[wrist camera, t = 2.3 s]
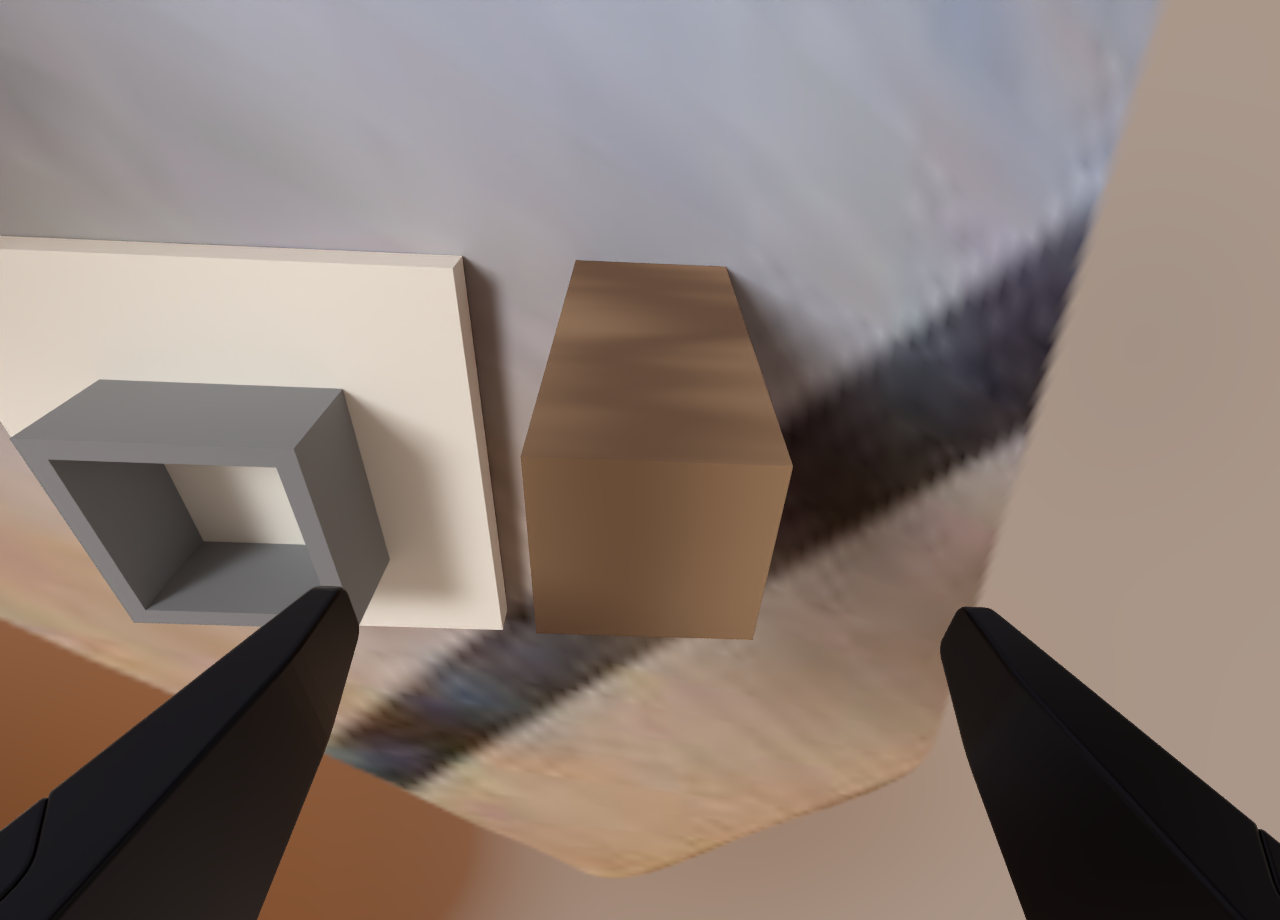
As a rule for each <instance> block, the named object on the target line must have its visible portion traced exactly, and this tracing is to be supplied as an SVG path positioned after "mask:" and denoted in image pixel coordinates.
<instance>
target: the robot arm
mask: <svg viewBox="0 0 1280 920" xmlns="http://www.w3.org/2000/svg"><path fill="white" fill-rule="evenodd" d="M358 636H359V623H358V620H357V617H356V614H355V611H354V608H353V605H352V603H351V600H350V597H349V594H348V592H347V590H346V589H345V588H343V587H340V586H316V587H313V588H311V589H310V590H308V591H307V592H306V593H304V594H303V595H302V596H300V597H299V598H298V599H297V600H295V601H294V602H293V603H292V604H290V605H289V606H288V607H286V608H285V609H284V610H283V611H281V612H280V613H279V614H277V615H276V616H275V617H274V618H272V619H271V620H270V621H268V622H267V623H266V624H265V625H263V626H262V627H261V628H260V629H258V630H257V631H256V632H254V633H253V634H252V635H251V636H249V637H248V638H247V639H245V640H244V641H243V642H242V643H240V644H239V645H238V646H237V647H235V648H234V649H233V650H231V651H230V652H229V653H228V654H226V655H225V656H224V657H222V658H221V659H220V660H219V661H217V662H216V663H215V664H213V665H212V666H211V667H210V668H208V669H207V670H206V671H205V672H203V673H202V674H201V675H199V676H198V677H197V678H196V679H194V680H193V681H192V682H190V683H189V684H188V685H187V686H185V687H184V688H183V689H182V690H180V691H179V692H178V693H176V694H175V695H174V696H173V697H171V698H170V699H169V700H168V701H166V702H165V703H164V704H162V705H161V706H160V707H158V709H156V710H155V711H153V712H152V713H151V714H150V715H148V716H147V717H146V718H144V719H143V720H142V721H141V722H139V723H138V724H137V725H136V726H134V727H133V728H132V729H130V730H129V731H128V732H127V733H125V734H124V735H123V736H121V737H120V738H119V739H118V740H116V741H115V742H114V743H112V744H111V745H110V746H109V747H107V748H106V749H105V750H104V751H102V752H101V753H100V754H98V755H97V756H96V757H95V758H93V759H92V760H91V761H89V762H88V763H87V764H86V765H84V766H83V767H82V768H80V769H79V770H78V771H77V772H75V773H74V774H73V775H72V776H70V777H69V778H68V779H66V780H65V781H64V782H63V783H61V784H60V785H59V786H57V787H56V788H55V789H54V790H52V791H51V793H50V794H49V797H48V798H42V799H41V800H39V801H38V802H37V803H35V804H34V805H33V806H31V807H30V808H29V809H28V810H26V811H25V812H24V813H23V814H21V815H20V816H19V817H18V818H17V819H15V820H14V821H12V822H11V823H10V824H9V825H7V826H6V827H5V828H3V829H2V830H1V831H0V920H257V918H258V916H259V913H260V910H261V908H262V906H263V903H264V901H265V898H266V896H267V893H268V891H269V888H270V886H271V883H272V881H273V878H274V876H275V873H276V871H277V868H278V866H279V863H280V861H281V859H282V856H283V854H284V851H285V849H286V846H287V844H288V841H289V839H290V836H291V834H292V831H293V829H294V826H295V824H296V821H297V819H298V816H299V814H300V811H301V809H302V806H303V804H304V801H305V799H306V797H307V794H308V792H309V789H310V787H311V784H312V782H313V779H314V777H315V774H316V772H317V769H318V766H319V764H320V762H321V759H322V757H323V754H324V752H325V749H326V746H327V744H328V741H329V738H330V735H331V732H332V728H333V725H334V722H335V718H336V715H337V711H338V708H339V704H340V701H341V697H342V694H343V690H344V686H345V683H346V679H347V676H348V672H349V669H350V665H351V662H352V658H353V655H354V651H355V647H356V644H357V640H358ZM940 654H941V660H942V664H943V668H944V672H945V675H946V679H947V683H948V687H949V691H950V695H951V699H952V703H953V707H954V711H955V715H956V718H957V722H958V726H959V730H960V734H961V738H962V742H963V745H964V749H965V752H966V756H967V759H968V762H969V765H970V768H971V771H972V773H973V776H974V779H975V782H976V784H977V787H978V790H979V793H980V795H981V798H982V801H983V803H984V806H985V809H986V811H987V814H988V817H989V820H990V822H991V825H992V828H993V830H994V833H995V836H996V839H997V841H998V844H999V847H1000V849H1001V852H1002V855H1003V857H1004V860H1005V863H1006V866H1007V868H1008V871H1009V874H1010V877H1011V879H1012V882H1013V885H1014V887H1015V890H1016V893H1017V895H1018V898H1019V901H1020V904H1021V906H1022V909H1023V911H1024V914H1025V917H1026V920H1280V843H1279V842H1278V841H1277V840H1275V839H1274V838H1273V837H1272V836H1271V835H1269V834H1268V833H1267V832H1266V831H1264V830H1262V829H1258V828H1257V825H1256V824H1255V823H1254V822H1253V821H1252V820H1251V819H1249V818H1248V817H1247V816H1246V815H1244V814H1243V813H1242V812H1240V811H1239V810H1238V809H1237V808H1236V807H1234V806H1233V805H1232V804H1231V803H1230V802H1228V801H1227V800H1226V799H1225V798H1224V797H1222V796H1221V795H1220V794H1219V793H1217V792H1216V791H1215V790H1214V789H1212V788H1211V787H1210V786H1209V785H1208V784H1206V783H1205V782H1204V781H1203V780H1201V779H1200V778H1199V777H1198V776H1197V775H1195V774H1194V773H1193V772H1192V771H1190V770H1189V769H1188V768H1187V767H1185V766H1184V765H1183V764H1182V763H1181V762H1179V761H1178V760H1177V759H1176V758H1174V757H1173V756H1172V755H1171V754H1169V753H1168V752H1167V751H1166V750H1164V749H1163V748H1162V747H1161V746H1160V745H1158V744H1157V743H1156V742H1155V741H1154V740H1152V739H1151V738H1150V737H1149V736H1147V735H1146V734H1145V733H1144V732H1142V731H1141V730H1140V729H1139V728H1137V727H1136V726H1135V725H1134V724H1133V723H1131V722H1130V721H1128V719H1126V718H1125V717H1124V716H1123V715H1121V714H1120V713H1119V712H1118V711H1117V710H1115V709H1114V708H1113V707H1112V706H1110V705H1109V704H1108V703H1107V702H1106V701H1104V700H1103V699H1102V698H1101V697H1099V696H1098V695H1097V694H1096V693H1095V692H1093V691H1092V690H1091V689H1090V688H1088V687H1087V686H1086V685H1085V684H1083V683H1082V682H1081V681H1080V680H1079V679H1077V678H1076V677H1075V676H1074V675H1072V674H1071V673H1070V672H1069V671H1068V670H1066V669H1065V668H1064V667H1063V666H1061V665H1060V664H1059V663H1058V662H1056V661H1055V660H1054V659H1053V658H1052V657H1050V656H1049V655H1048V654H1046V653H1045V652H1044V651H1043V650H1042V649H1040V648H1039V647H1038V646H1037V645H1036V644H1034V643H1033V642H1032V641H1031V640H1029V639H1028V638H1027V637H1026V636H1025V635H1023V634H1022V633H1021V632H1020V631H1018V630H1017V629H1016V628H1015V627H1013V626H1012V625H1011V624H1010V623H1009V622H1007V621H1006V620H1005V619H1004V618H1002V617H1001V616H1000V615H999V614H997V613H996V612H994V611H993V610H991V609H989V608H984V607H962V608H960V609H959V610H958V611H957V612H956V614H955V616H954V618H953V619H952V621H951V623H950V625H949V627H948V629H947V631H946V633H945V635H944V637H943V639H942V641H941V646H940Z"/></svg>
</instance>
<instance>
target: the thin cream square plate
mask: <svg viewBox="0 0 1280 920" xmlns="http://www.w3.org/2000/svg"><path fill="white" fill-rule="evenodd" d="M0 421H1V423H2V424H3V426H4V427H5V429H6V430H7V432H8V433H9V435H10V436H11V438H10V440H11V441H12V443H13V444H14V446H15V447H16V449H17V450H18V452H19V453H20V455H21V456H22V458H23V459H24V461H25V462H26V464H27V465H28V467H29V468H30V470H31V471H32V472H33V474H34V475H35V477H36V478H37V480H38V481H39V483H40V484H41V486H42V487H43V489H44V490H45V492H46V493H47V495H48V496H49V498H50V499H51V501H52V502H53V504H54V505H55V506H56V508H57V509H58V511H59V512H60V514H61V515H62V517H63V518H64V520H65V521H66V523H67V524H68V526H69V527H70V529H71V530H72V532H73V533H74V535H75V536H76V538H77V539H78V541H79V542H80V543H81V545H82V546H83V548H84V549H85V551H86V552H87V554H88V555H89V557H90V558H91V560H92V561H93V563H94V564H95V566H96V567H97V569H98V570H99V572H100V573H101V575H102V576H103V578H104V579H105V580H106V582H107V583H108V585H109V586H110V588H111V589H112V591H113V592H114V594H115V595H116V597H117V598H118V600H119V601H120V603H121V604H122V606H123V607H124V609H125V610H126V612H127V613H128V615H129V616H130V617H131V619H132V620H133V622H134V623H166V624H198V625H231V626H263V625H265V624H266V623H267V622H268V621H270V620H271V619H272V618H274V617H275V616H276V615H277V614H279V613H280V612H281V611H283V610H284V609H285V608H286V607H288V606H289V605H290V604H292V603H293V602H294V601H295V600H297V599H298V598H299V597H300V596H302V595H303V594H304V593H306V592H307V591H308V590H310V589H311V588H313V587H316V586H340V587H343V588H345V589H346V590H347V592H348V594H349V597H350V600H351V603H352V605H353V608H354V611H355V614H356V617H357V620H358V623H359V625H362V626H395V627H427V628H460V629H493V630H503V626H504V622H505V617H506V613H507V603H506V595H505V587H504V579H503V572H502V564H501V556H500V548H499V540H498V533H497V525H496V517H495V509H494V501H493V493H492V486H491V478H490V470H489V462H488V454H487V446H486V439H485V431H484V423H483V415H482V407H481V399H480V392H479V384H478V376H477V368H476V360H475V353H474V345H473V337H472V329H471V321H470V313H469V306H468V298H467V290H466V282H465V274H464V266H463V259H462V256H454V255H431V254H408V253H385V252H362V251H338V250H315V249H292V248H269V247H246V246H223V245H200V244H176V243H153V242H130V241H107V240H84V239H61V238H38V237H14V236H0Z"/></svg>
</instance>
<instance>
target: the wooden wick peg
mask: <svg viewBox="0 0 1280 920" xmlns="http://www.w3.org/2000/svg"><path fill="white" fill-rule="evenodd" d="M521 464H522V476H523V487H524V498H525V509H526V521H527V532H528V543H529V554H530V566H531V577H532V588H533V599H534V611H535V622H536V633H548V634H581V635H614V636H647V637H681V638H714V639H747V640H753V635H754V631H755V627H756V622H757V618H758V614H759V610H760V605H761V601H762V597H763V593H764V588H765V584H766V580H767V575H768V571H769V567H770V563H771V558H772V554H773V550H774V546H775V541H776V537H777V533H778V528H779V524H780V520H781V516H782V511H783V507H784V503H785V499H786V494H787V490H788V486H789V482H790V477H791V473H792V469H793V465H792V462H791V459H790V456H789V453H788V450H787V447H786V444H785V441H784V438H783V435H782V432H781V429H780V426H779V423H778V420H777V417H776V414H775V411H774V408H773V405H772V402H771V399H770V397H769V394H768V391H767V388H766V385H765V382H764V379H763V376H762V373H761V370H760V367H759V364H758V361H757V358H756V355H755V352H754V349H753V346H752V343H751V340H750V337H749V334H748V331H747V328H746V325H745V322H744V319H743V316H742V313H741V311H740V308H739V305H738V302H737V299H736V296H735V293H734V290H733V287H732V284H731V281H730V278H729V275H728V272H727V269H726V267H719V266H696V265H673V264H650V263H626V262H603V261H580V260H576V262H575V265H574V269H573V272H572V276H571V280H570V283H569V287H568V290H567V294H566V297H565V301H564V304H563V308H562V312H561V315H560V319H559V322H558V326H557V329H556V333H555V336H554V340H553V344H552V347H551V351H550V354H549V358H548V361H547V365H546V369H545V372H544V376H543V379H542V383H541V386H540V390H539V393H538V397H537V401H536V404H535V408H534V411H533V415H532V418H531V422H530V425H529V429H528V433H527V436H526V440H525V443H524V447H523V450H522V454H521Z"/></svg>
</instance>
